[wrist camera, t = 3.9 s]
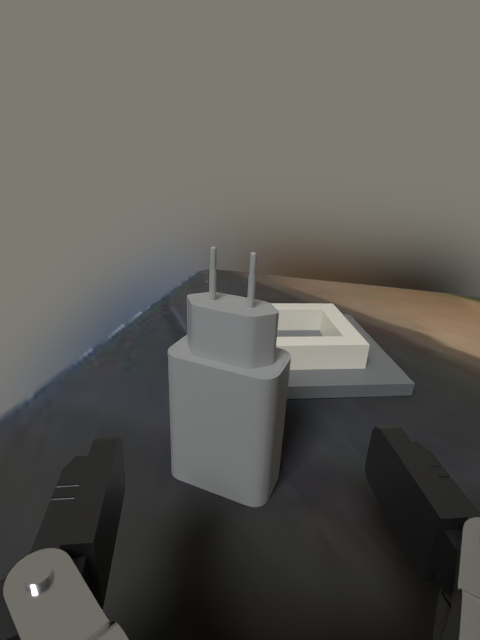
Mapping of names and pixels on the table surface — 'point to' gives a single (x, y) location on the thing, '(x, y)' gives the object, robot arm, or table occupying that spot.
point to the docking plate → (334, 356)
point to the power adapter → (228, 394)
